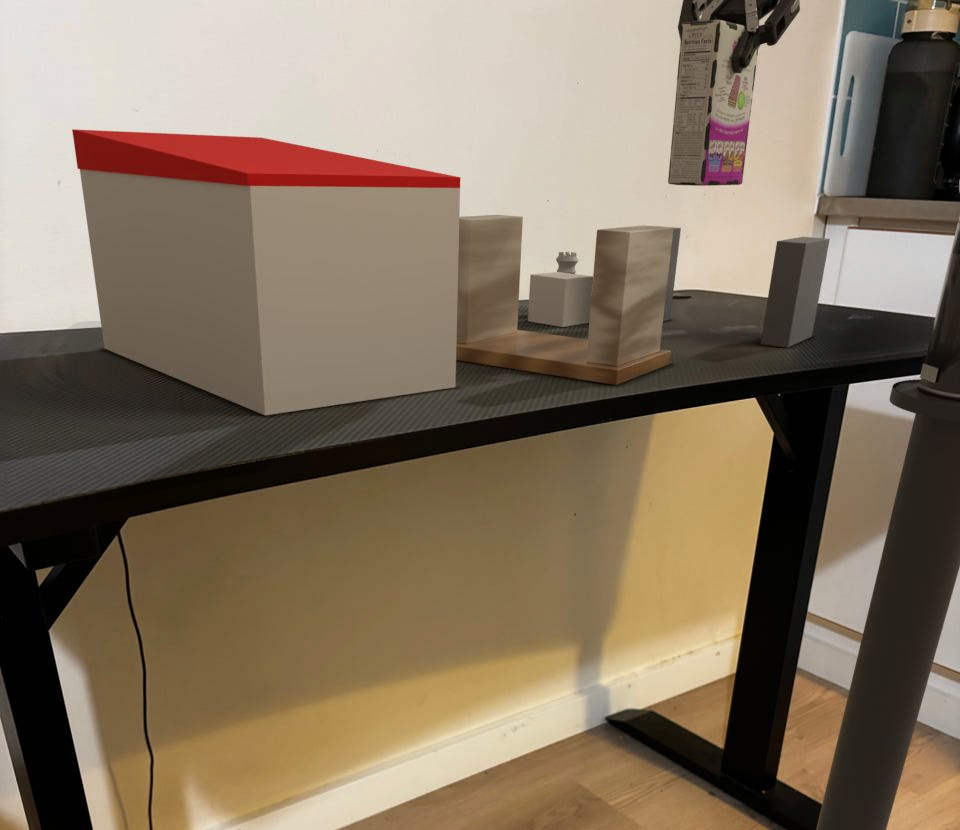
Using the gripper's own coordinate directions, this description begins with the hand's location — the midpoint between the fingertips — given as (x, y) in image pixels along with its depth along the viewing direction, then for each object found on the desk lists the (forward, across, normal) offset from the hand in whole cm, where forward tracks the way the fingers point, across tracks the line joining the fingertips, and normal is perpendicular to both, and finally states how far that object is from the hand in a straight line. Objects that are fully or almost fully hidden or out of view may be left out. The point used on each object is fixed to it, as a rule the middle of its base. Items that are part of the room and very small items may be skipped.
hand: (711, 66), depth 109 cm
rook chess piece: (+15, -22, +28) cm, 38 cm away
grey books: (+15, +1, +27) cm, 31 cm away
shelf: (+38, -6, +4) cm, 39 cm away
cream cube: (+21, -18, +21) cm, 35 cm away
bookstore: (+55, -25, -13) cm, 62 cm away
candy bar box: (+8, 0, +10) cm, 13 cm away
